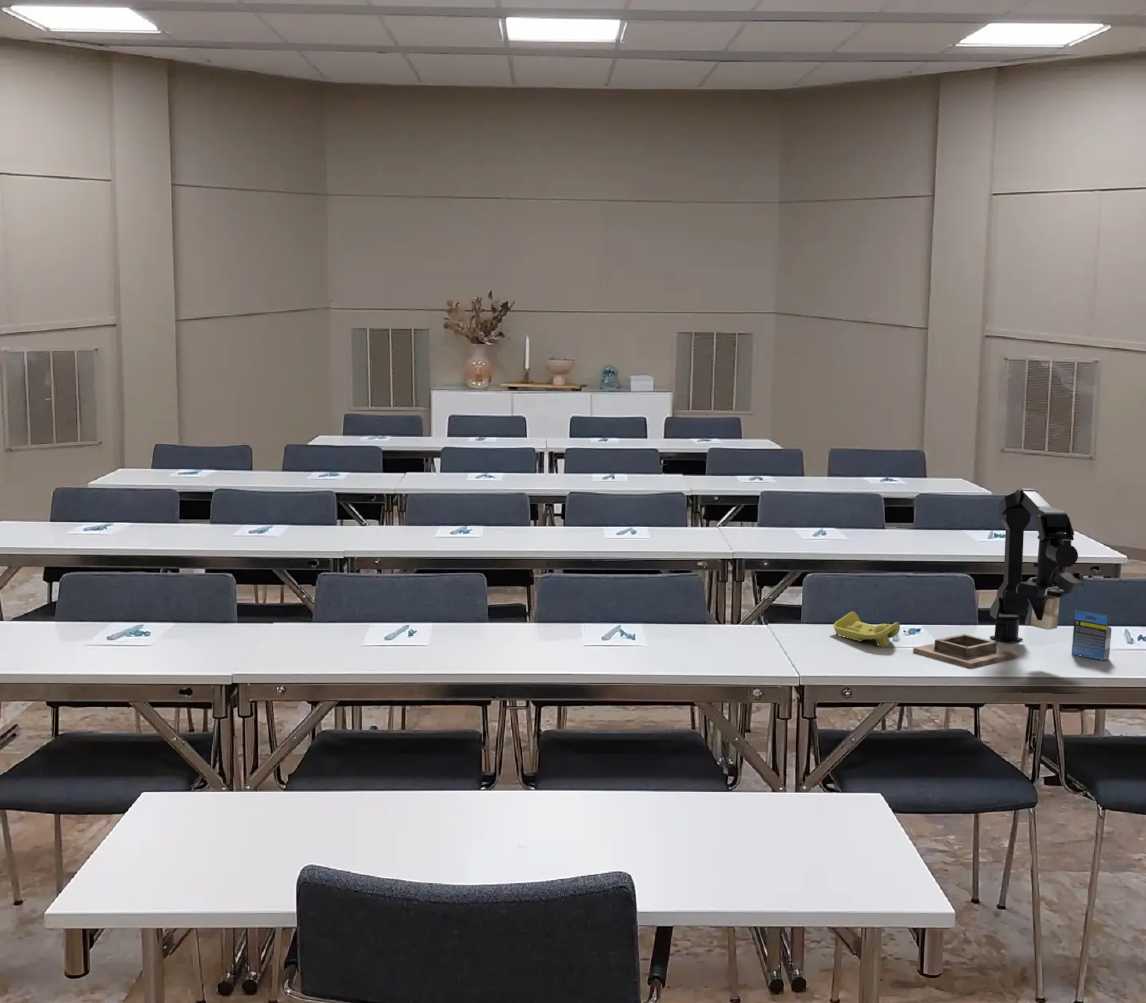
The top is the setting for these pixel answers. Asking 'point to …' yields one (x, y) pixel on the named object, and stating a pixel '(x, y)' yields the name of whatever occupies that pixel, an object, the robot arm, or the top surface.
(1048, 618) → the birch peg
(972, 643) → the holder board
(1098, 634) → the blue retail box
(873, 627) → the plastic component
